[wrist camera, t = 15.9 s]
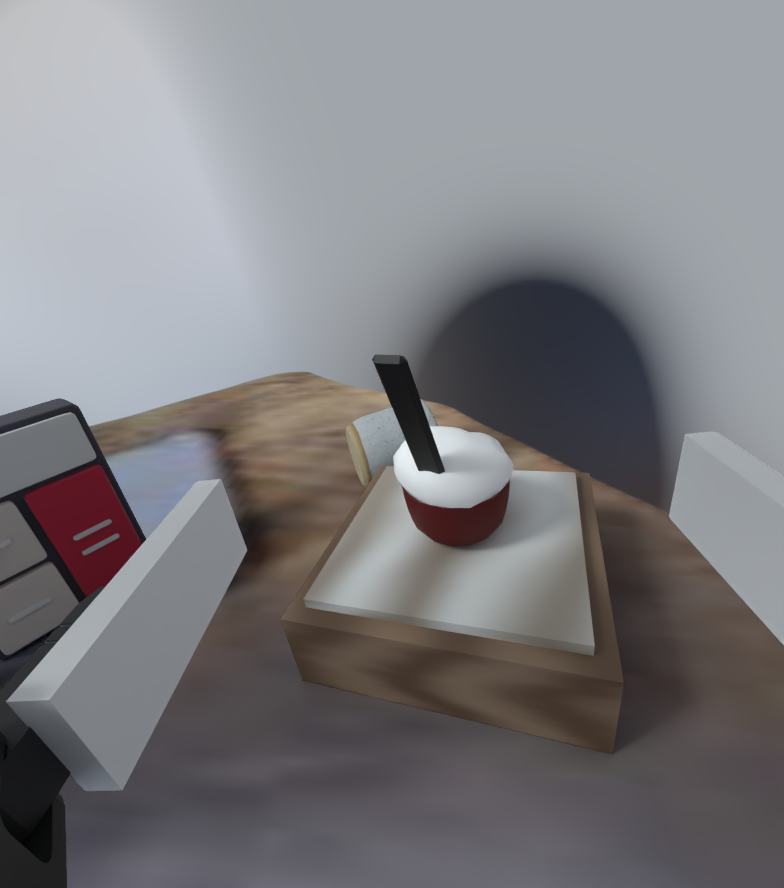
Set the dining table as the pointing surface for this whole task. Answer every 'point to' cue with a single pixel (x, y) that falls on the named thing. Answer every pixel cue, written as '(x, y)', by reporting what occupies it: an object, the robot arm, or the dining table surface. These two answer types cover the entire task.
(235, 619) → the dining table surface
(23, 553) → the calculator
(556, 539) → the walnut stand
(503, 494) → the cocoa
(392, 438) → the ceramic mug
